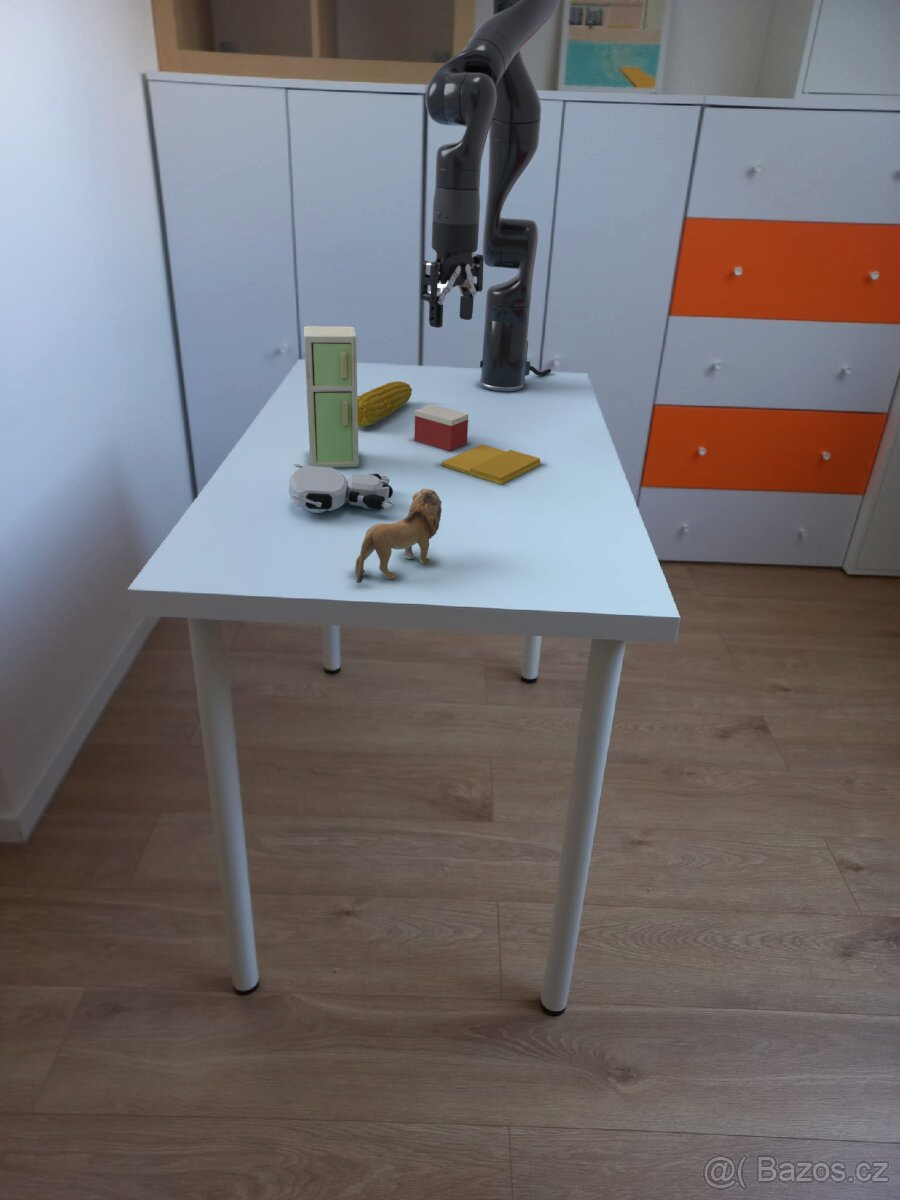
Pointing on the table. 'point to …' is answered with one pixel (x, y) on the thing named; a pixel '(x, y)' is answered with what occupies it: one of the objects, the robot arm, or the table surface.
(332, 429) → the toy refrigerator
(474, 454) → the cloth
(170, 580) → the table surface
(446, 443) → the toy cooler box
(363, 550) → the lion figurine
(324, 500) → the robot toy
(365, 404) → the food
